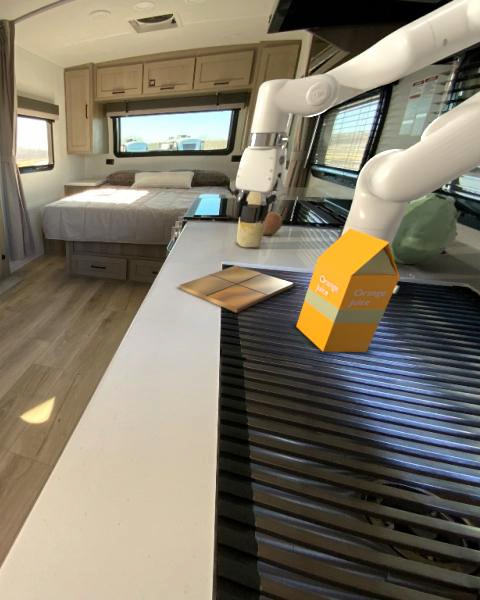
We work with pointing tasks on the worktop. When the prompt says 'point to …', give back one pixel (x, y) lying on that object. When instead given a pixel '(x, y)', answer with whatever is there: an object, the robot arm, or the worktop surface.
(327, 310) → the orange juice
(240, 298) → the grid board
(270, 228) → the onion
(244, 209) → the black ridged cylinder
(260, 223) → the food model
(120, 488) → the worktop surface
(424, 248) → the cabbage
